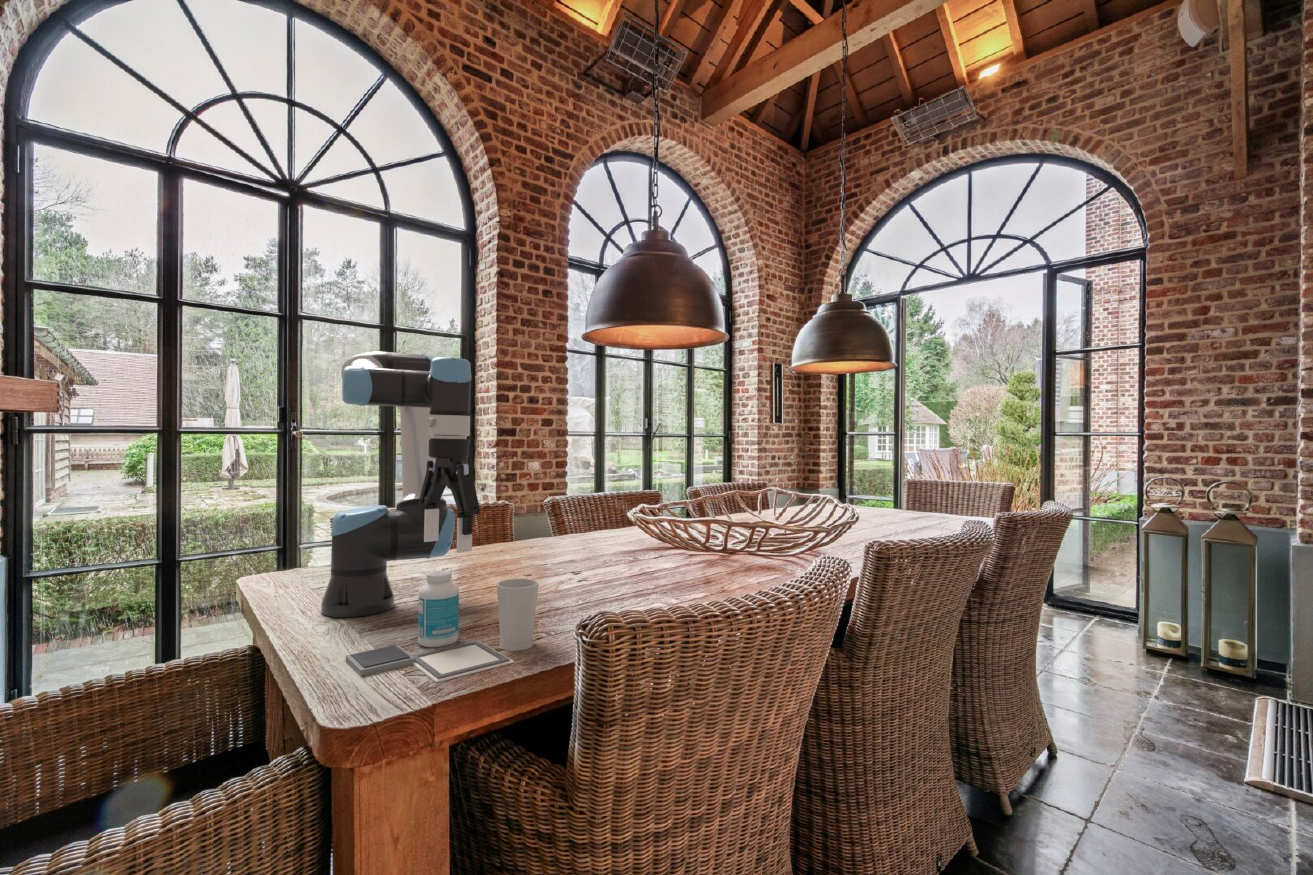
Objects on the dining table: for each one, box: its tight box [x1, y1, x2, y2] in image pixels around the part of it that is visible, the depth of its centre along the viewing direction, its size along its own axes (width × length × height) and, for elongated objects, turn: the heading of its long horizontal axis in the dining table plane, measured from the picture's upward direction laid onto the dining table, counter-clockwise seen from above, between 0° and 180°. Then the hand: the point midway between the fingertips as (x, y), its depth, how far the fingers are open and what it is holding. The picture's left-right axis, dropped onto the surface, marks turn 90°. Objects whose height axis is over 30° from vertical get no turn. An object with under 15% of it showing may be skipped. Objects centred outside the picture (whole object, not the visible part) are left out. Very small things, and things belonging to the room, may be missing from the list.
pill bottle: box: [417, 570, 460, 648], centre depth 118 cm, size 8×7×14 cm
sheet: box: [411, 640, 515, 684], centre depth 108 cm, size 14×14×1 cm
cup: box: [496, 578, 540, 652], centre depth 117 cm, size 8×8×12 cm
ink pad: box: [345, 644, 416, 677], centre depth 107 cm, size 9×9×1 cm
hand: (447, 546), depth 118 cm, fingers open, 13 cm apart
